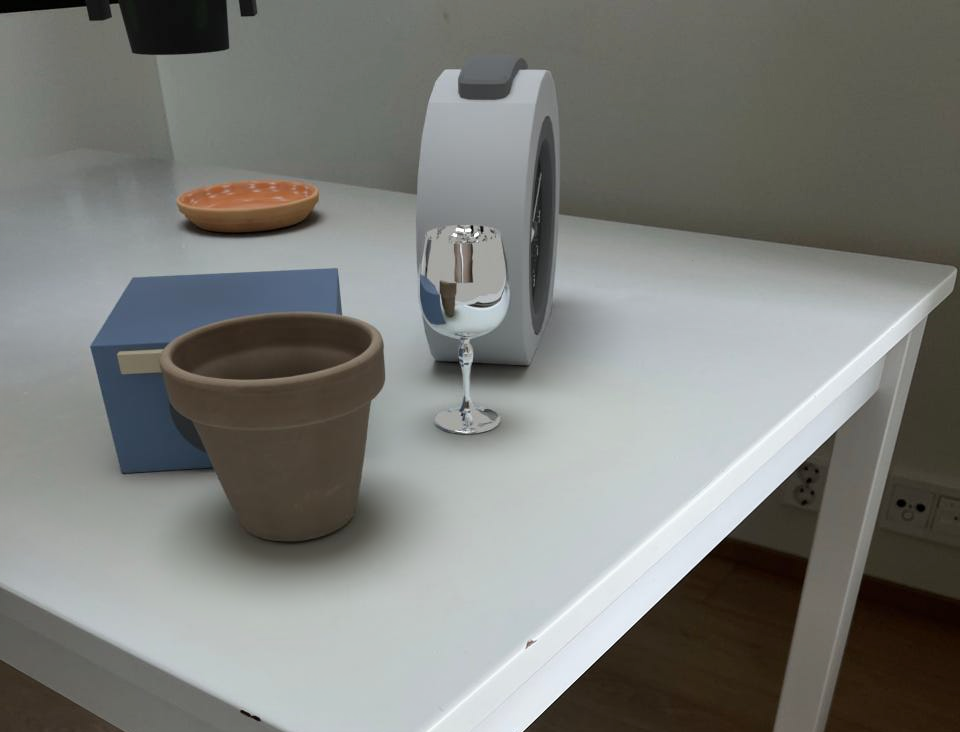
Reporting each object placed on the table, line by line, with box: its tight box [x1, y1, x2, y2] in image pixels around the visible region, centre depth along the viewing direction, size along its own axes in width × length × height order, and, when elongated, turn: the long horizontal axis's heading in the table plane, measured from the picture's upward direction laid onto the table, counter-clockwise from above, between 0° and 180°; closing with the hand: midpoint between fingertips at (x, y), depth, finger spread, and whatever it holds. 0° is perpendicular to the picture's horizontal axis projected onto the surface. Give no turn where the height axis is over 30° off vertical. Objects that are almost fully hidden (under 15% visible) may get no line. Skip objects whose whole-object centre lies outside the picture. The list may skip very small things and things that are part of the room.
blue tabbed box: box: [89, 267, 343, 474], centre depth 65 cm, size 14×14×8 cm
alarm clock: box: [415, 53, 561, 366], centre depth 76 cm, size 21×8×20 cm, turn 170°
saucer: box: [176, 179, 320, 233], centre depth 114 cm, size 16×16×3 cm
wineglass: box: [417, 225, 510, 435], centre depth 64 cm, size 6×6×12 cm
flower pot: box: [159, 312, 386, 542], centre depth 54 cm, size 12×11×10 cm
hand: (175, 16), depth 57 cm, fingers closed on cup, 8 cm apart
